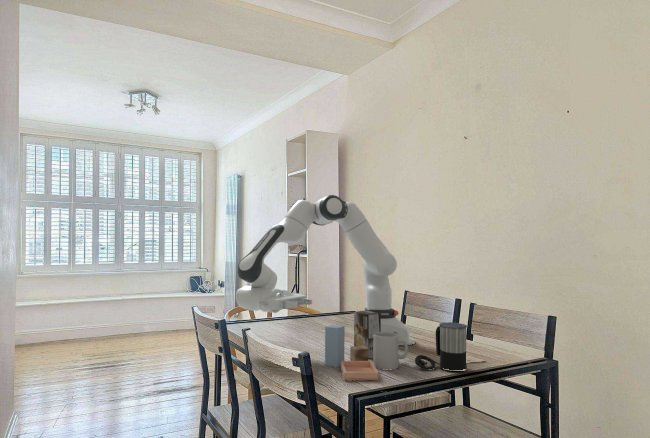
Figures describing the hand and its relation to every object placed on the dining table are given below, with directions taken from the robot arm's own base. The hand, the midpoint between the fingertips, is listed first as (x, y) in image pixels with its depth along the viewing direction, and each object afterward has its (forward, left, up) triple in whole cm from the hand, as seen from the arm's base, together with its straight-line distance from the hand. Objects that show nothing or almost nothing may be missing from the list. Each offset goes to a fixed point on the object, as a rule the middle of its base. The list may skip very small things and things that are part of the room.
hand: (304, 303), depth 161 cm
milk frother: (-47, +11, -20) cm, 52 cm away
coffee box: (-24, -7, -20) cm, 32 cm away
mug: (-30, +9, -20) cm, 37 cm away
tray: (-18, +18, -20) cm, 32 cm away
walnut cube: (-20, +2, -20) cm, 28 cm away
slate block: (-11, +6, -20) cm, 24 cm away
